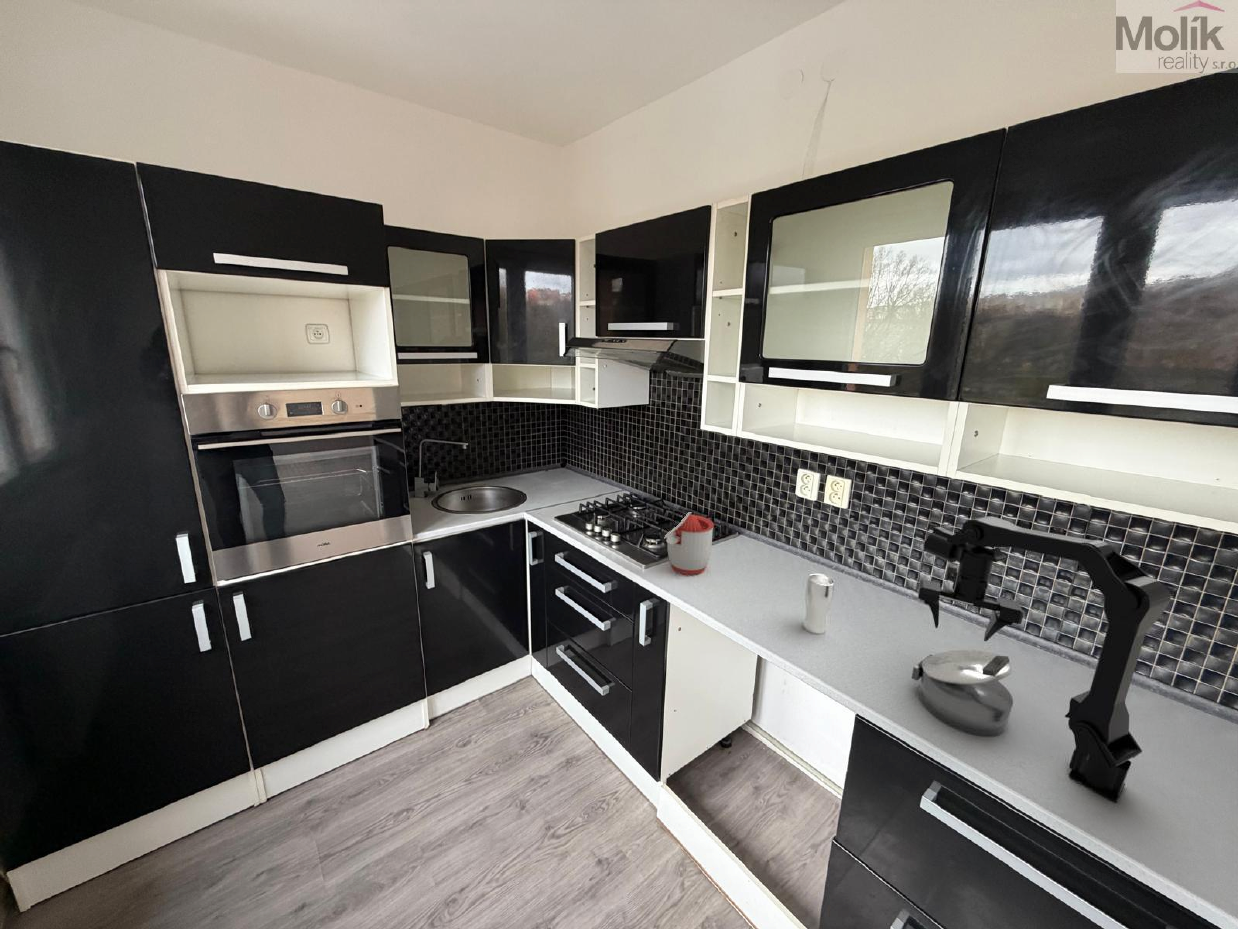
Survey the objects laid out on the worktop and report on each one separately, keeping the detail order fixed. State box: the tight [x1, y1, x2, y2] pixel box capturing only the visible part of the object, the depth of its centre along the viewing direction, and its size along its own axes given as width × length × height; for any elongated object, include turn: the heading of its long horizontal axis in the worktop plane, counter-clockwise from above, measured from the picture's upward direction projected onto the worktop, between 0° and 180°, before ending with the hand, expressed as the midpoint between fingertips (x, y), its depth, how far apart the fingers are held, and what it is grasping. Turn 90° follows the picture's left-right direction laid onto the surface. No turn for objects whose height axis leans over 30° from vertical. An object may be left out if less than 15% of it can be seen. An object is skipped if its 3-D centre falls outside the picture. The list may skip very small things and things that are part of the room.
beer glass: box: [802, 573, 835, 635], centre depth 132 cm, size 7×7×15 cm
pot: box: [911, 655, 1014, 738], centre depth 106 cm, size 17×16×6 cm
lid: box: [917, 649, 1013, 684], centre depth 104 cm, size 16×16×2 cm
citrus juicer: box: [665, 513, 715, 576], centre depth 165 cm, size 16×17×20 cm
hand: (960, 633), depth 110 cm, fingers open, 9 cm apart
